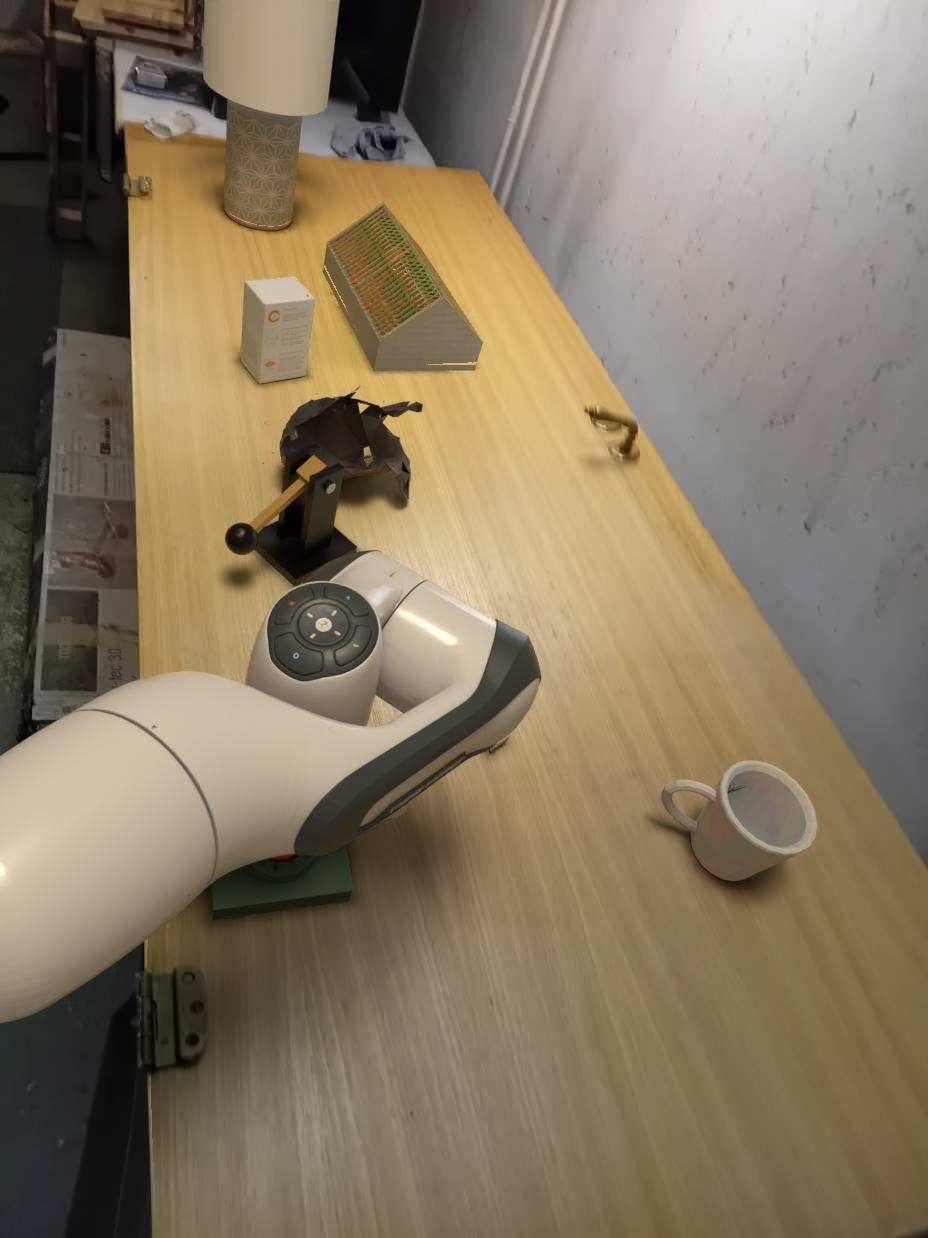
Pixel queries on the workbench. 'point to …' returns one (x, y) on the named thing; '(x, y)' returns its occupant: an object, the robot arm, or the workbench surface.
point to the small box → (276, 328)
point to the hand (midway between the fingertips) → (281, 837)
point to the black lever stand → (306, 522)
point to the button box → (282, 885)
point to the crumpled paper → (350, 436)
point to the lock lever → (270, 511)
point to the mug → (746, 819)
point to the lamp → (267, 95)
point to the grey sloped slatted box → (397, 298)
